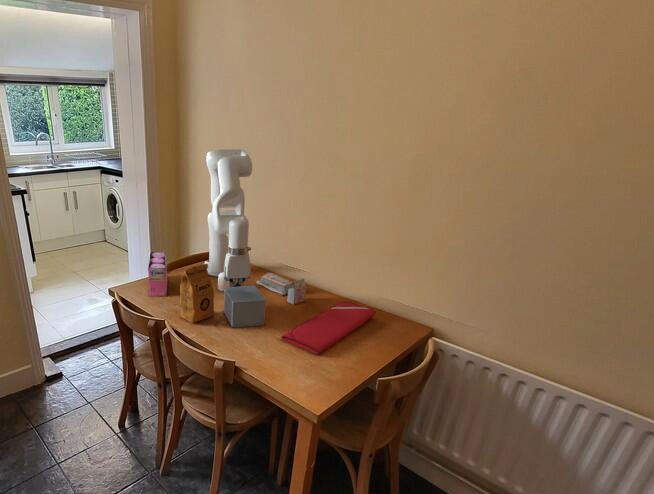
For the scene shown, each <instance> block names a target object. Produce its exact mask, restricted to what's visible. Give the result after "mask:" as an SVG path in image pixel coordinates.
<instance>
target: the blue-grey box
mask: <svg viewBox="0 0 654 494" xmlns="http://www.w3.org/2000/svg"><path fill="white" fill-rule="evenodd" d="M266 303H267V300H266V298H265V297H264V296H263V294H262V293H261V292H260V290H259V289H258V288H257V287H256V285H243V286H242V285H241V286H239V287H233V286H229V287H225V288H224V291H223V313H224V314H225V316H226V318H227V320H228V322H229V324H230V326H231V328H244V327H254V326H255V327H256V326H265V319H266V317H265V315H266Z"/></svg>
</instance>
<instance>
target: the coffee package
mask: <svg viewBox="0 0 654 494" xmlns="http://www.w3.org/2000/svg"><path fill="white" fill-rule="evenodd" d="M207 269H208V264H207V263H206V264H204V263H203V264H199V265H193V266H191V267H189V268H185V269H184V272H183V274H182V277H181V280H180V286H179V297H180V299H179V300H180V302H179V303H180V304H179V305H180V318H181V319H183V320H186V321H187V322H189V323H193V324H194V323H197V322H199V321H202V320H206V319H208V318H211V317H214V314H215V303H214V300H215V292H214V285H213V283H212V280H211V278H210V275H209V274H208V271H207Z"/></svg>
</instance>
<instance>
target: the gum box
mask: <svg viewBox="0 0 654 494" xmlns="http://www.w3.org/2000/svg"><path fill="white" fill-rule="evenodd" d="M167 261H168V259H167V252H166V251H163V252H154V251H150V254H149V261H148V266H147V274H148V275H147V276H148V277H147V278H148V292H149V294H148V295H149V297H165V296H167V294H168V262H167Z"/></svg>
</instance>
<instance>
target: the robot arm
mask: <svg viewBox="0 0 654 494" xmlns="http://www.w3.org/2000/svg"><path fill="white" fill-rule="evenodd" d="M206 167H207V170H208V172H209V176H210V204H211V207H212V210H211V212H209V213H208V215H207V225H208V236H209V243H208V244H209V245H208V246H209V249H208V253H209V255H208V256H209V257H208V259H209V260H208V261H207V260H205V261H204V263H203V264H206V263H207V264H208V268H207V271H208V274H209V276H211V277H216V278H218V276H219V274H220V273H222V272H224V274H225V277H224V280H225V281H230V283H231V284H232V287H239V286H242V285H243V283H244V282H245V281H247V280H250V279H251V259H250V253H249V251H251V250H252V247H251V246H249V227H250V225H249V224H250V223H249V219H248V217H247V216H246V215H245V203H246V202H245V201H246V198H245V197H246V196H245V191H244V190H243V188H242V187H241V181H240V180H241V179H240V178H248V177H250V176H251V175H252V173H253V161H252V158H251V156H250V155H249V154H248V152H247V151H245V150H244V149H242V148H236V149H235V148H233V149H232V148H231V149H213V150H210V151H208V152H207V153H206ZM229 208H230V209H229ZM231 208H232V209H231ZM221 209H222V210H221Z"/></svg>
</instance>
